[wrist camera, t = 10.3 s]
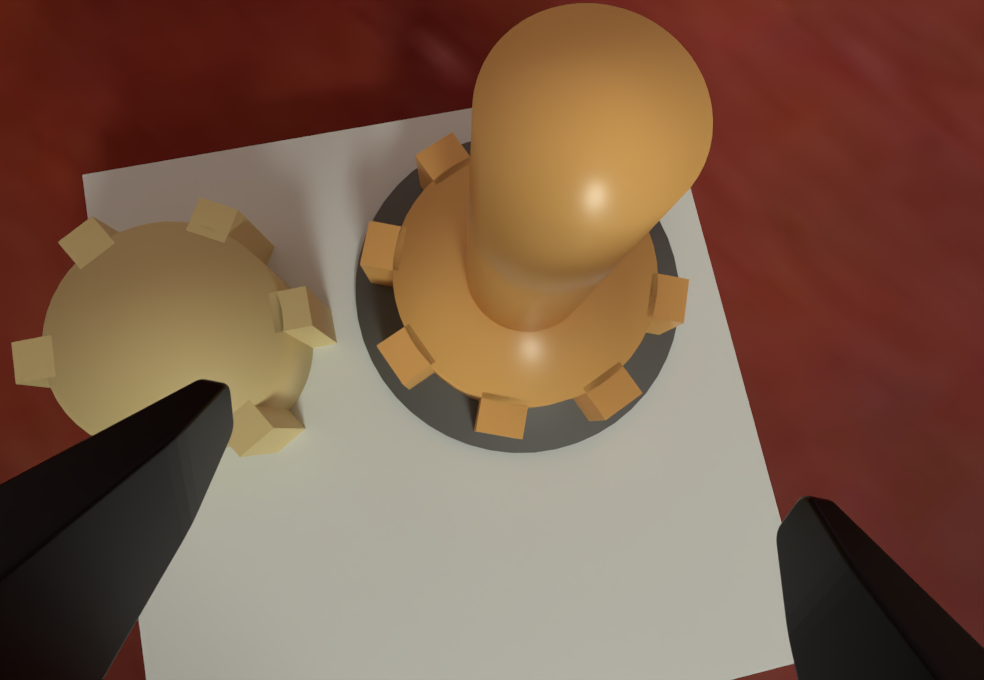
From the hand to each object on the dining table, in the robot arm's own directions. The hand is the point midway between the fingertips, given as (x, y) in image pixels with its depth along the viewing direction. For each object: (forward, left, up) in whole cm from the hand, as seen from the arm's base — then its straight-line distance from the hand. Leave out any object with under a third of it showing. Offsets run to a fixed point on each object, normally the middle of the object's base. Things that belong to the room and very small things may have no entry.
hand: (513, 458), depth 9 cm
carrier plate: (-1, +1, -10) cm, 10 cm away
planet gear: (+2, +4, -8) cm, 9 cm away
